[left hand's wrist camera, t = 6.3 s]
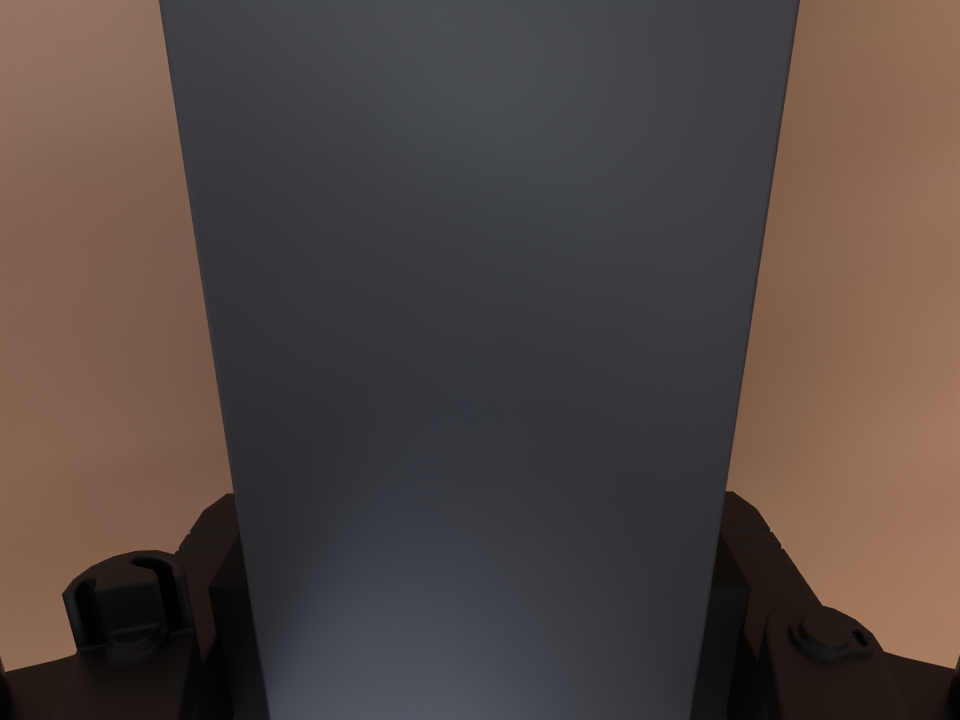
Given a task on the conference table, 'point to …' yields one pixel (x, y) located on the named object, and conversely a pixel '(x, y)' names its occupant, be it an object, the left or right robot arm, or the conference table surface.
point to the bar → (479, 335)
